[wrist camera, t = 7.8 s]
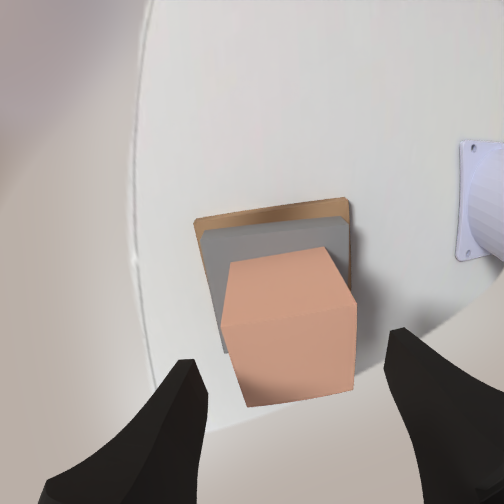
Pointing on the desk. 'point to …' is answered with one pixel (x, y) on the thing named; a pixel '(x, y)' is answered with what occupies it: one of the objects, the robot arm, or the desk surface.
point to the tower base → (277, 218)
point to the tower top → (269, 249)
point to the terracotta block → (289, 327)
